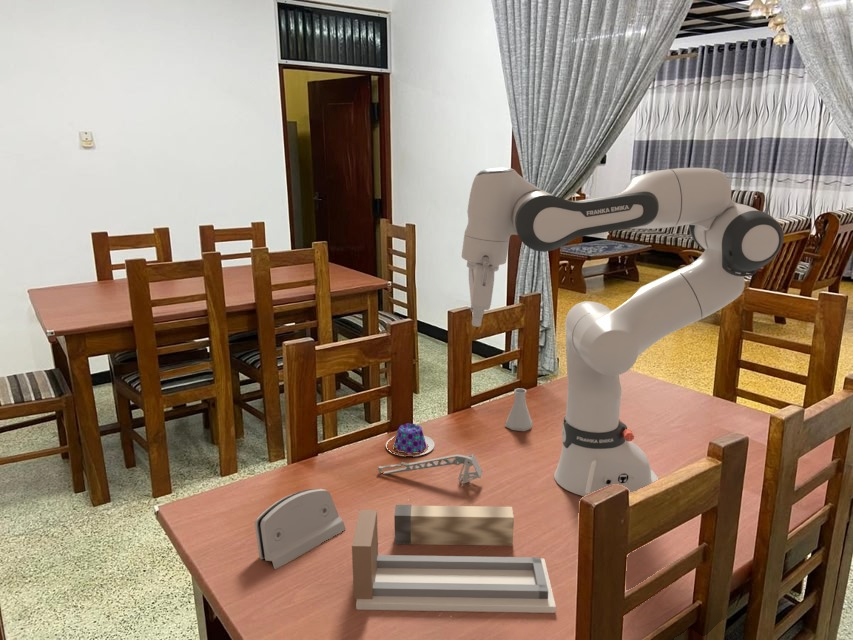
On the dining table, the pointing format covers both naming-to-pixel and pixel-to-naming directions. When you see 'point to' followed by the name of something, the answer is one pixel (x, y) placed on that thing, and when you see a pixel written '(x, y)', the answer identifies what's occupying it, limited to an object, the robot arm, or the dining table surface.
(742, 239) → the robot arm
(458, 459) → the bracket
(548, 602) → the slot board
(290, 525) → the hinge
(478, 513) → the wooden block
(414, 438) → the pudding
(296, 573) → the dining table surface
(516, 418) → the flask
